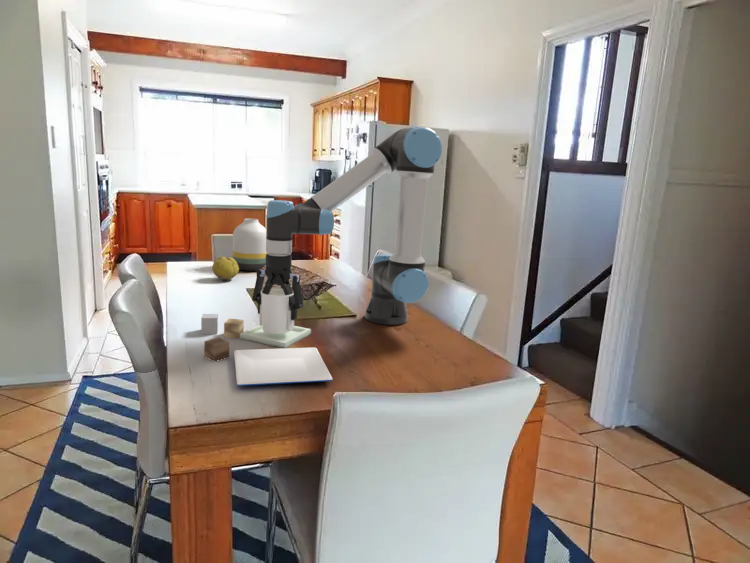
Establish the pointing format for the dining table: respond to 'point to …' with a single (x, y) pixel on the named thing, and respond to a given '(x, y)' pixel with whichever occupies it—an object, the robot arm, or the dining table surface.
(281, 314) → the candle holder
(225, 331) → the oak block
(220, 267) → the fruit
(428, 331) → the dining table surface
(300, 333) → the tray
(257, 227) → the vase
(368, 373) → the dining table surface
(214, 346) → the walnut block
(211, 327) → the grey block
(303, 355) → the plate
